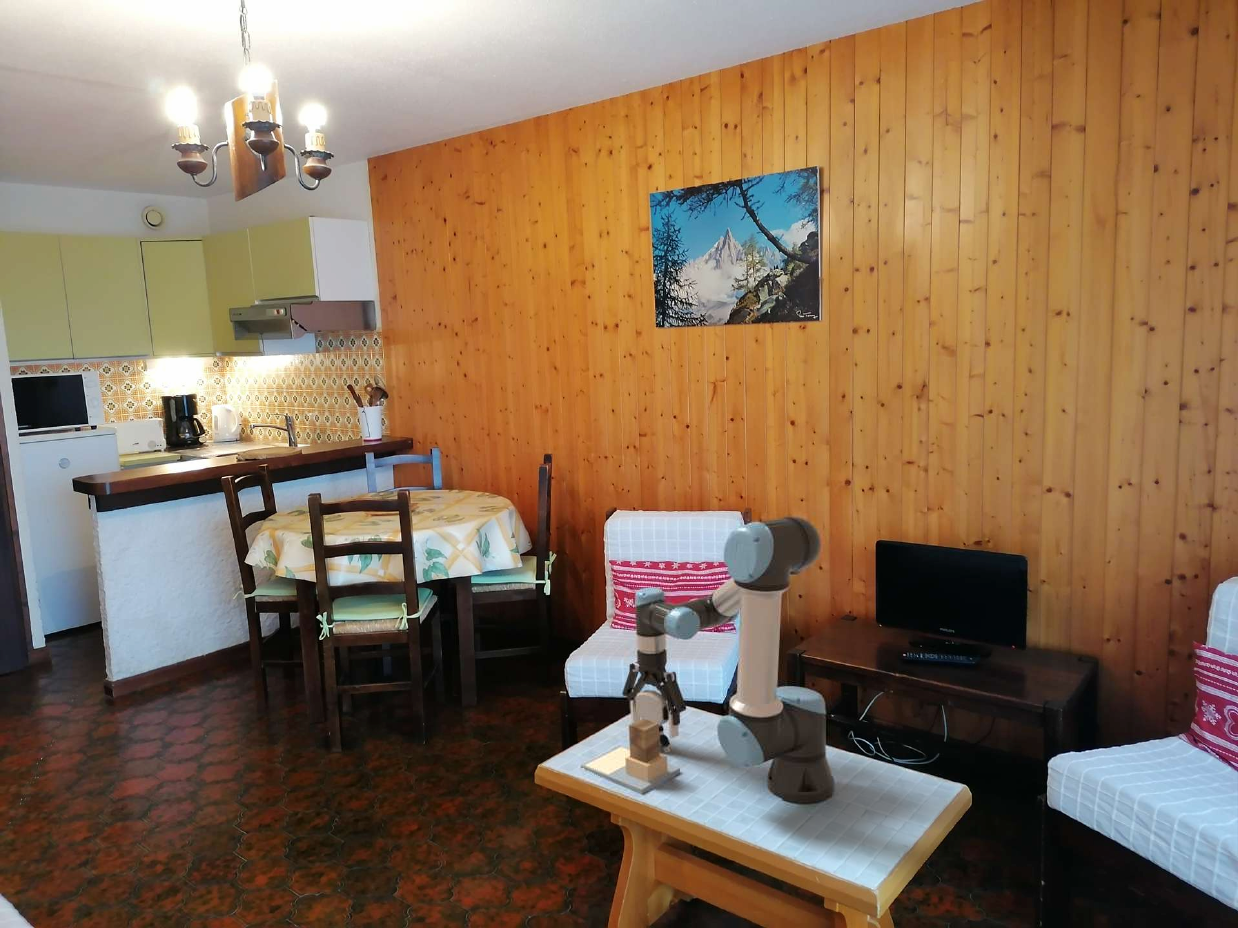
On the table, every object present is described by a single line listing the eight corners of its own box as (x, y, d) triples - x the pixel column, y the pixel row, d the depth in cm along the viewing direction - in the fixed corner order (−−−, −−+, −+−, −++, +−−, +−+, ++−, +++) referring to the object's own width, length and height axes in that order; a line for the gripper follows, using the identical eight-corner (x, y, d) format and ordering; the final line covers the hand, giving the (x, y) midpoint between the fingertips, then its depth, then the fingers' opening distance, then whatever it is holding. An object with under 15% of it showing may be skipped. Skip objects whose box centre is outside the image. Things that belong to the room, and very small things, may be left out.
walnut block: (659, 755, 209) (658, 723, 208) (645, 763, 206) (644, 730, 205) (644, 749, 213) (642, 718, 212) (630, 757, 209) (628, 724, 208)
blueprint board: (680, 772, 211) (679, 751, 211) (641, 794, 201) (640, 772, 201) (619, 749, 225) (619, 730, 225) (580, 769, 215) (579, 749, 214)
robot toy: (678, 750, 223) (676, 694, 222) (666, 756, 220) (664, 699, 218) (644, 737, 232) (642, 683, 230) (632, 743, 229) (630, 687, 227)
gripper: (698, 654, 217) (701, 737, 220) (626, 636, 234) (629, 713, 237) (679, 662, 212) (682, 747, 214) (606, 643, 229) (610, 722, 231)
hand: (654, 729), depth 226 cm, fingers closed on robot toy, 12 cm apart
